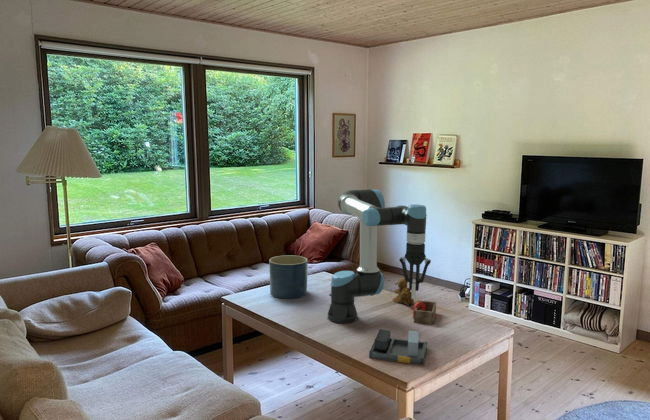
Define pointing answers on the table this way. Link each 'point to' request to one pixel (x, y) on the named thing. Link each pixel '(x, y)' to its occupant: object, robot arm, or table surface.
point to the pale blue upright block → (413, 343)
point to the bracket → (420, 306)
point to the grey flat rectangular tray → (395, 349)
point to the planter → (288, 276)
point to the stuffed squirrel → (403, 293)
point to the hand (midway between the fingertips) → (413, 297)
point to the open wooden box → (425, 313)
